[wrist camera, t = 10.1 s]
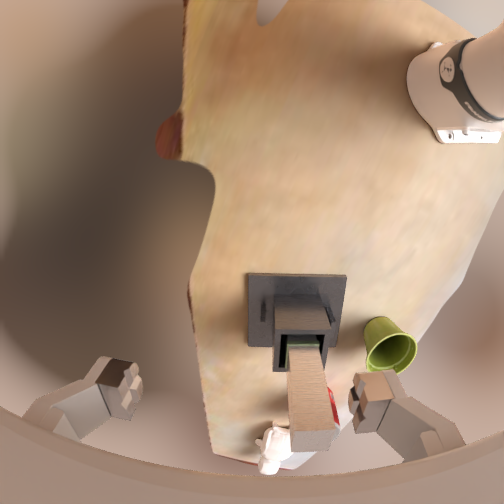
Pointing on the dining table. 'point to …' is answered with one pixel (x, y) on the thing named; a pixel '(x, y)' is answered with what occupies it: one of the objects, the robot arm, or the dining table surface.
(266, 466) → the white molar tooth
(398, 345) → the plant pot
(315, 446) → the column
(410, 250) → the dining table surface
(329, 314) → the stand
